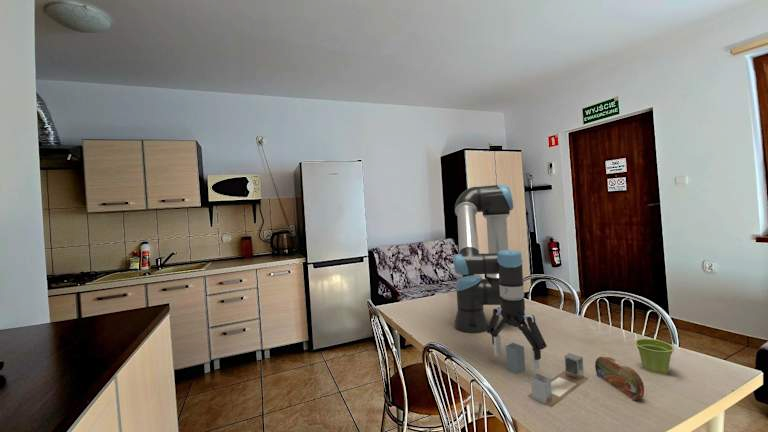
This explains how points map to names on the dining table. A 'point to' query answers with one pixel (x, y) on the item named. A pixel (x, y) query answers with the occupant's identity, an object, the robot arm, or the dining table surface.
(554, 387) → the brown flat board
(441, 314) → the dining table surface
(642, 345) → the plant pot
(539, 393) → the near end finger
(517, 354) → the block
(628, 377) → the tin
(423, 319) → the dining table surface
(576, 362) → the far end finger
